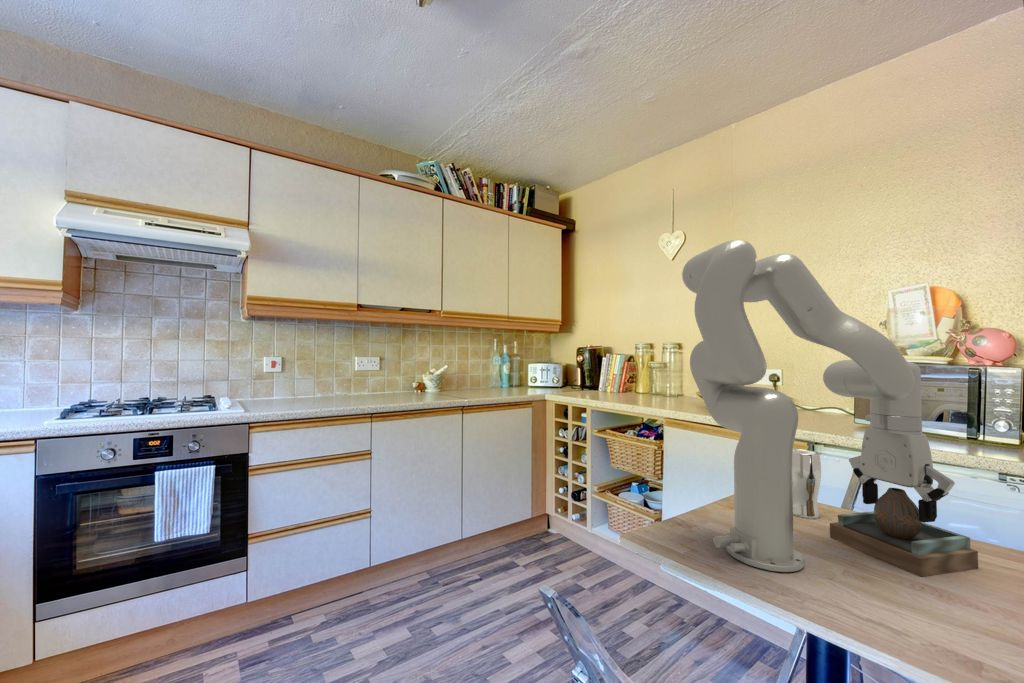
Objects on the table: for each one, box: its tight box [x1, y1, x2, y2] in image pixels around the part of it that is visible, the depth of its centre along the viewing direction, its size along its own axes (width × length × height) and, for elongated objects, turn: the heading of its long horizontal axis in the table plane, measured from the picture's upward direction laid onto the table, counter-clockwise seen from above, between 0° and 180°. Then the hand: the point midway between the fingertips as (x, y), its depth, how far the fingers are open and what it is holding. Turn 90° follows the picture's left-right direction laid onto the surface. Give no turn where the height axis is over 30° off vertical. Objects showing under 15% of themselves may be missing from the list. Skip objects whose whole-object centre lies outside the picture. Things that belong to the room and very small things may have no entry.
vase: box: [873, 487, 922, 539], centre depth 81 cm, size 7×7×9 cm
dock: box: [829, 510, 979, 577], centre depth 81 cm, size 14×16×5 cm
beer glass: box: [792, 448, 822, 520], centre depth 101 cm, size 7×7×15 cm
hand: (897, 511), depth 81 cm, fingers open, 9 cm apart
